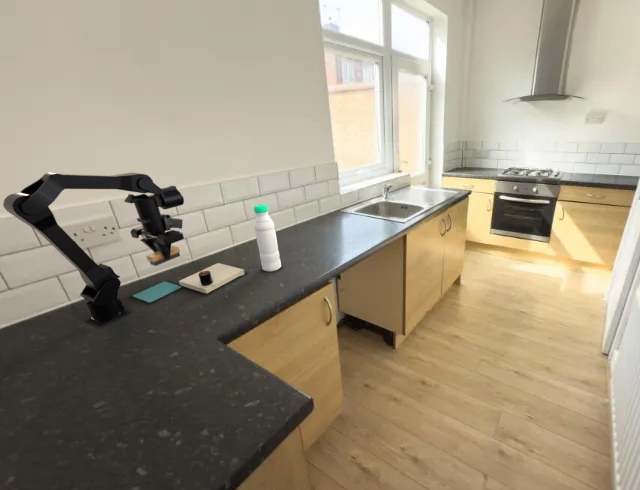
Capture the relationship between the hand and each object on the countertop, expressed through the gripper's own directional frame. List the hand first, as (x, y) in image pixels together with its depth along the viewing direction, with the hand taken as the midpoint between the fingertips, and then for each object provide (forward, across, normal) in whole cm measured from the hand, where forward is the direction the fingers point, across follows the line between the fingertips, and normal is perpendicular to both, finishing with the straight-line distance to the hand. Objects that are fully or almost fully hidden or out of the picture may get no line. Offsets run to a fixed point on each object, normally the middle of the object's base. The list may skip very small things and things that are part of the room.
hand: (165, 258), depth 107 cm
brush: (+1, 0, 0) cm, 1 cm away
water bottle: (+12, -21, -25) cm, 35 cm away
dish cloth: (+11, +2, +5) cm, 12 cm away
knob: (+9, -12, -4) cm, 16 cm away
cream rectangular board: (+11, -8, -9) cm, 17 cm away
